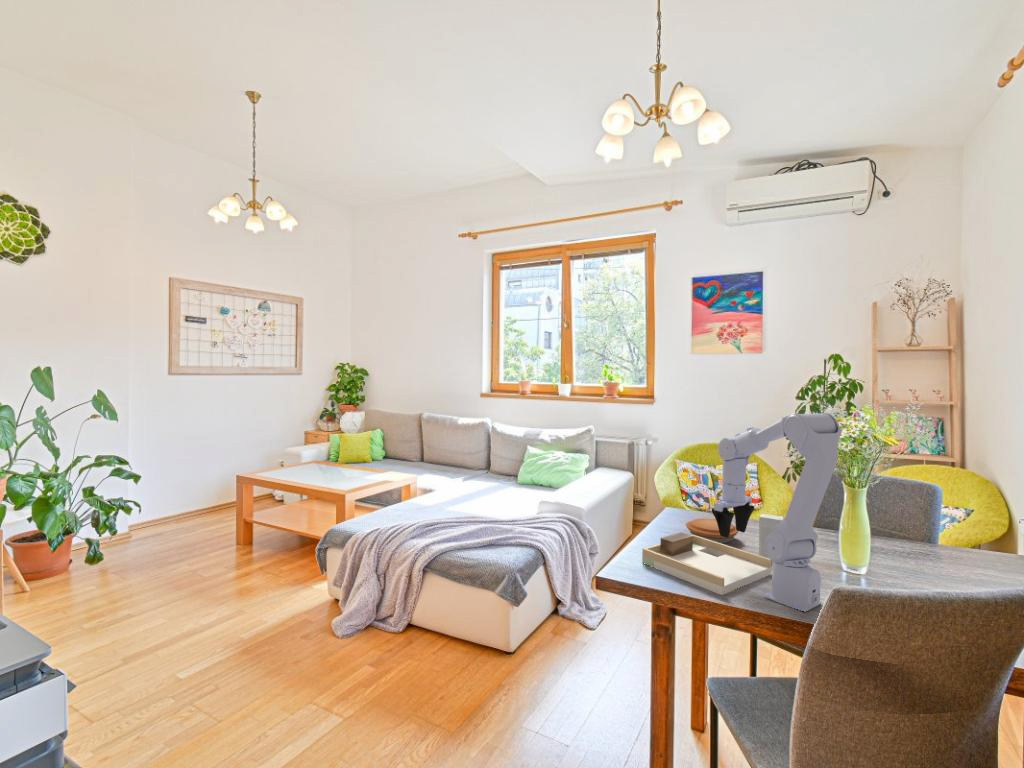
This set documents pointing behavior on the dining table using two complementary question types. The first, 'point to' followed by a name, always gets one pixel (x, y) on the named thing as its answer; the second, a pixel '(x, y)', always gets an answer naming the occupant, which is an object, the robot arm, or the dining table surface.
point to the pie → (710, 530)
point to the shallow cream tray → (710, 565)
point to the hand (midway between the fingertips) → (732, 533)
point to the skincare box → (766, 530)
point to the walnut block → (676, 544)
